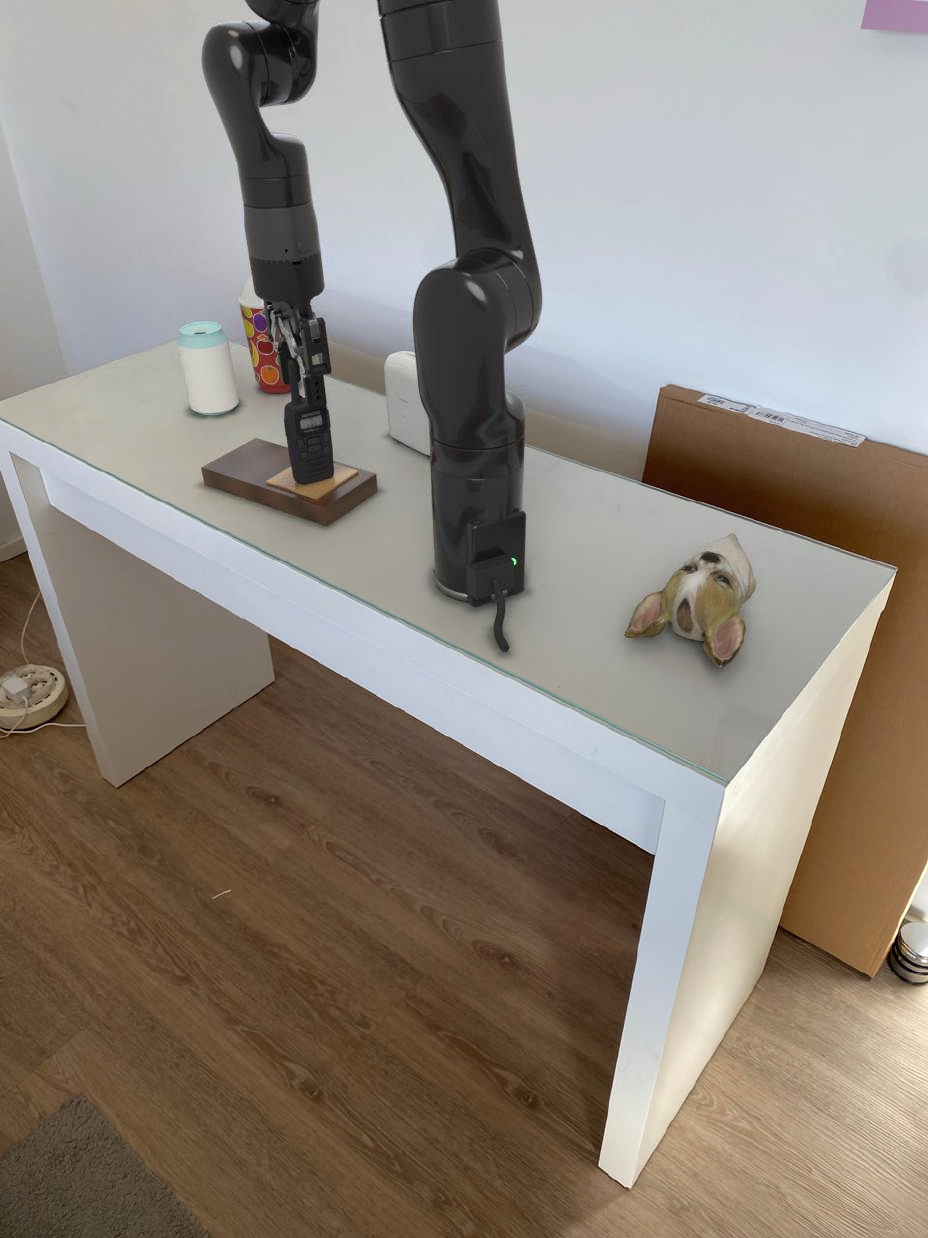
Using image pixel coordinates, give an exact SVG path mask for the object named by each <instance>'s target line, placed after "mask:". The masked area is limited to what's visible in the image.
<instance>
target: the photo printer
mask: <svg viewBox="0 0 928 1238" xmlns="http://www.w3.org/2000/svg"><path fill="white" fill-rule="evenodd" d="M383 368H384V369H383V375H384V385H385V386H384V389H385V400H386V412H387V413H386V414H387V425H388V432H389V435H390V436H391V437H392V438H393V439H395V440H397V441H398V442H400V443H402V444H404V445H405V446H408V447H409V448H411V449H413V450H415V451H417V452H419V453H421V454H422V455H426V456H429V457H430V440H429V420H428V416H427V414H426V412H425V410H424V408H423V405H422V403H421V399H420V395H419V389H418V379H417V369H416V358H415V351H410V350H409V351H408V350H401V351H396V352H393V353H390V354H388V356H387V358H386V360H385V361H384V367H383Z"/></svg>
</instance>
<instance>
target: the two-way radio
mask: <svg viewBox="0 0 928 1238" xmlns="http://www.w3.org/2000/svg"><path fill="white" fill-rule="evenodd" d="M288 372H289V382H290V391H289V392H290V401H289V402H287V403H285V405H284V408H283V417H284V418H283V424H284V425H283V426H284V434H285V437H286V443H287V447H288V451H289V458H290V462H291V468H292V474H293V478H294V480H295V481H296V482H298V483H300V484H308V483H312V482H316V481H320V480H323V479H327V478H330V477H332V476H333V475H334V463H333V461H334V450H333V439H332V431H331V429H332V426H331V418H330V411H329V409H328V405H326V406H325V407H323V408H318V409H314V410H311V409H309V408H308V407H307V405H306V399H305V397H303V396H302V395H301V394H300V387H299V382H298V380H297V374H296V368H295V362H294V361H293V360H290V361H288Z"/></svg>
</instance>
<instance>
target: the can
mask: <svg viewBox="0 0 928 1238" xmlns="http://www.w3.org/2000/svg"><path fill="white" fill-rule="evenodd" d="M176 343H177V349H178V353H179V358H180V363H181V368H182V372H183V378H184V383H185V388H186V392H187V393H186V394H187V398H188V402H189V407H190V409H191V410H192V411H194V412H196V413H198V414H200V415H203V416H220V415H224V414H227V413H229V412H231V411H232V410H234V409H235V407H237V405H239V402H240V401H239V395H238V389H237V383H236V375H235V370H234V366H233V365H234V364H233V360H232V359H233V358H232V352H231V347H230V346H231V345H230V342H229V336H228V334H227V333H226V332H225V331H224V330H223V327H222V324H220V323H219V322H216V321H210V320H209V321H208V320H207V321H205V320H203V321H202V320H201V321H195V322H190V323H187V324H184V325H183V326H181V327H180V328H179V336H178V338H177V340H176Z"/></svg>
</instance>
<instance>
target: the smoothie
mask: <svg viewBox="0 0 928 1238" xmlns="http://www.w3.org/2000/svg"><path fill="white" fill-rule="evenodd" d="M237 301H238V305H239V309H240V314H241V319H242V323H243V328H244V331H245V332H244V333H245V337H246V341H247V345H248V350H249V354H250V359H251V363H252V368H253V373H254V377H255V382H256V383H257V384H259V386H260V389H261V390H262V391H264V392H266V393H270V394H283V393H288V392H291V391H290V384H288V385H286V384H284V383H283V382H282V380H281V374H280V367H279V360H278V353H279V352H276V351H275V349H274V346H273V345H274V342H270V340H269V339H268V331H267V324H266V316H265V309H264V302H263V300H262V299H260V298H259V297H258V296H257V295H256V294H255V292H254V286H253V279H252V275H250V276H249V277H248V278H247V279H246V280H245V282H244V283H243V285H242V288H241V291H240V295H239V296H238V298H237ZM299 367H300V366H299Z"/></svg>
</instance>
